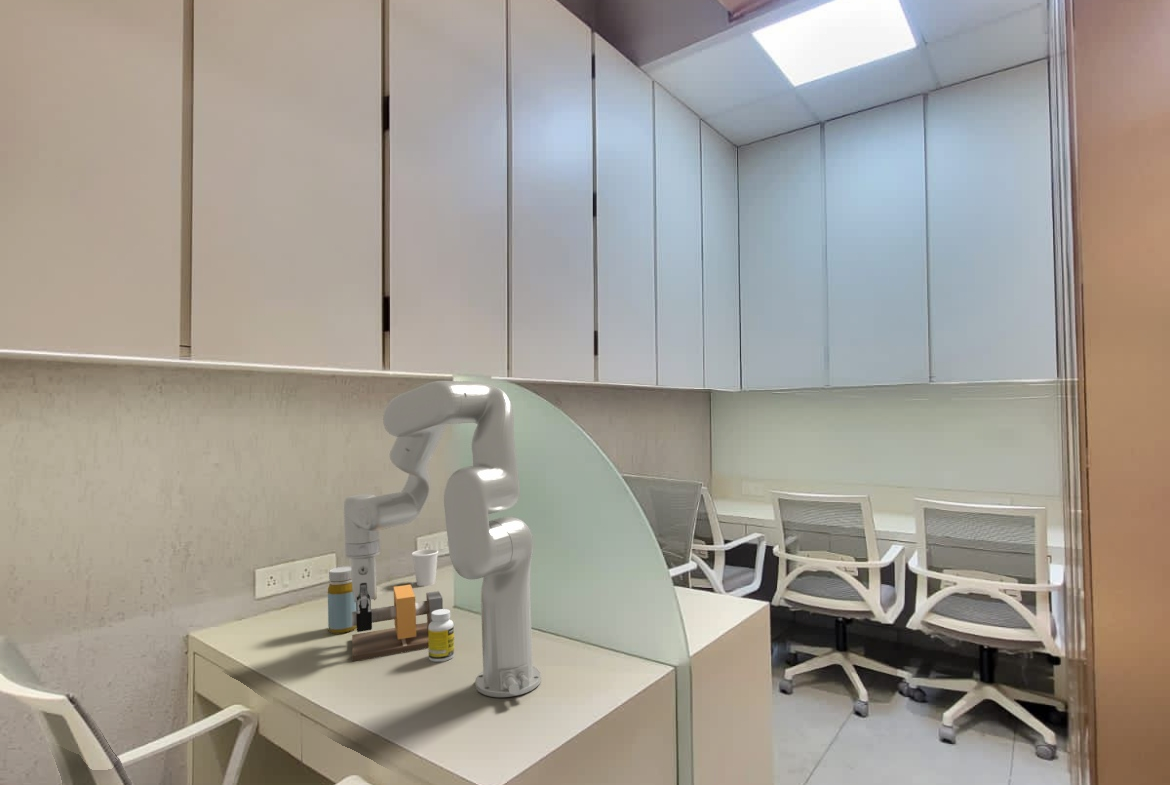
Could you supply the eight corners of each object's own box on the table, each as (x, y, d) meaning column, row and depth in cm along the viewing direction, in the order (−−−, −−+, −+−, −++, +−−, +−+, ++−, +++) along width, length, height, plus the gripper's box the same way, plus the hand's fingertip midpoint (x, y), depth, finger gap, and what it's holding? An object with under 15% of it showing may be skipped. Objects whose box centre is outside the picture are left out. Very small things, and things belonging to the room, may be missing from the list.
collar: (416, 636, 133) (415, 596, 134) (398, 639, 132) (396, 599, 132) (411, 621, 143) (410, 584, 144) (394, 624, 142) (393, 586, 142)
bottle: (347, 635, 143) (346, 573, 144) (322, 634, 145) (321, 572, 145) (364, 624, 150) (362, 565, 151) (339, 624, 151) (338, 565, 152)
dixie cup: (434, 578, 193) (433, 547, 193) (443, 583, 186) (442, 552, 186) (409, 583, 188) (408, 551, 189) (416, 588, 181) (415, 556, 182)
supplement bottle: (452, 661, 124) (451, 615, 125) (426, 663, 124) (425, 616, 125) (456, 651, 130) (454, 607, 130) (431, 653, 129) (430, 608, 130)
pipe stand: (446, 644, 134) (444, 602, 135) (352, 661, 127) (351, 616, 127) (437, 625, 147) (436, 587, 148) (352, 639, 140) (351, 599, 140)
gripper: (381, 554, 129) (382, 633, 128) (378, 540, 145) (380, 610, 144) (344, 558, 126) (345, 639, 125) (345, 543, 142) (347, 615, 141)
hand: (364, 623), depth 135 cm, fingers open, 9 cm apart
